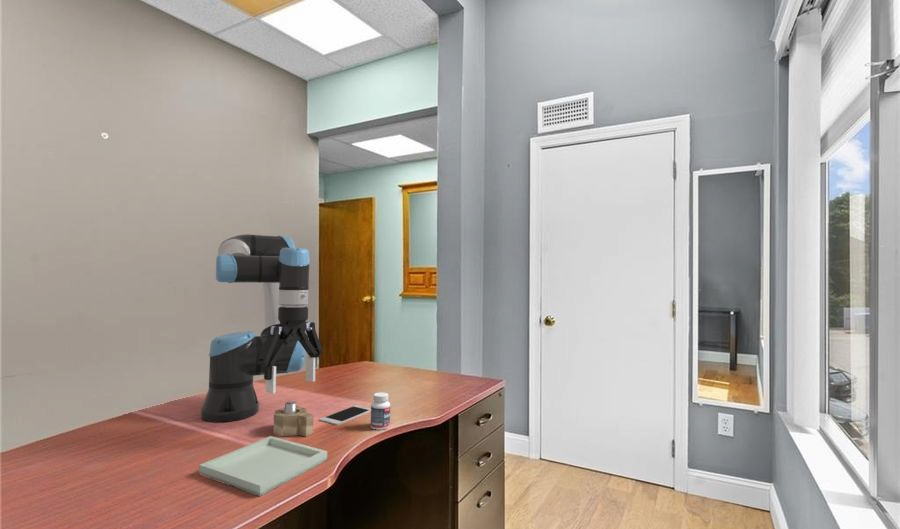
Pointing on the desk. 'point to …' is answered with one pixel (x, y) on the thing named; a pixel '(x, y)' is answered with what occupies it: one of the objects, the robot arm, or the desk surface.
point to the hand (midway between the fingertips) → (291, 386)
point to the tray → (263, 464)
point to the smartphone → (345, 415)
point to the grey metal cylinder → (290, 407)
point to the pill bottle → (380, 412)
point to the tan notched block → (293, 423)
